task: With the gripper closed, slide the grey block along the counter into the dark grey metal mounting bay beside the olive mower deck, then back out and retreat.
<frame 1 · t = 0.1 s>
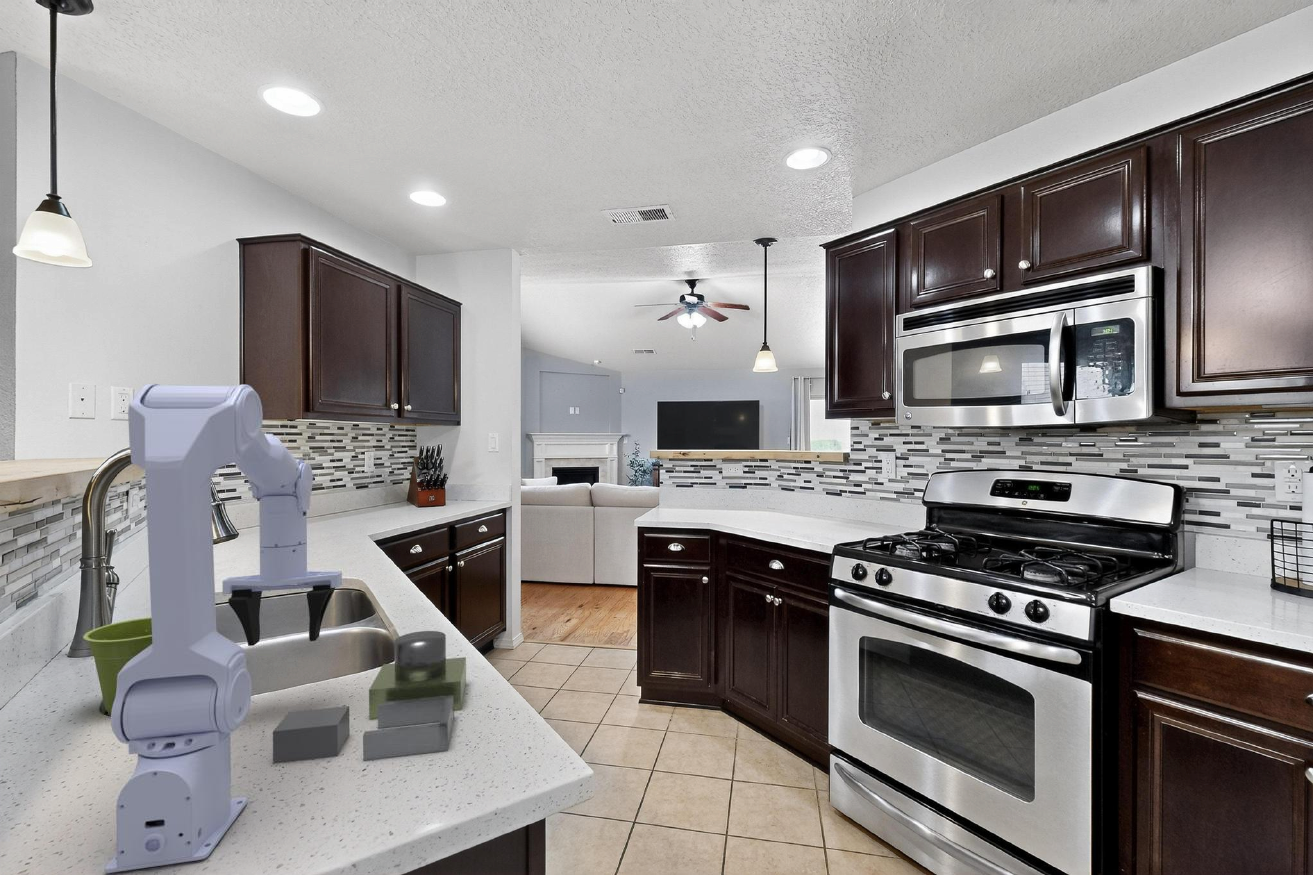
hand: (284, 641, 87), 10 cm above the worktop, fingers open, 7 cm apart
grey block: (313, 750, 77), on the worktop
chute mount: (407, 737, 79), on the worktop
plant pot: (138, 705, 91), on the worktop
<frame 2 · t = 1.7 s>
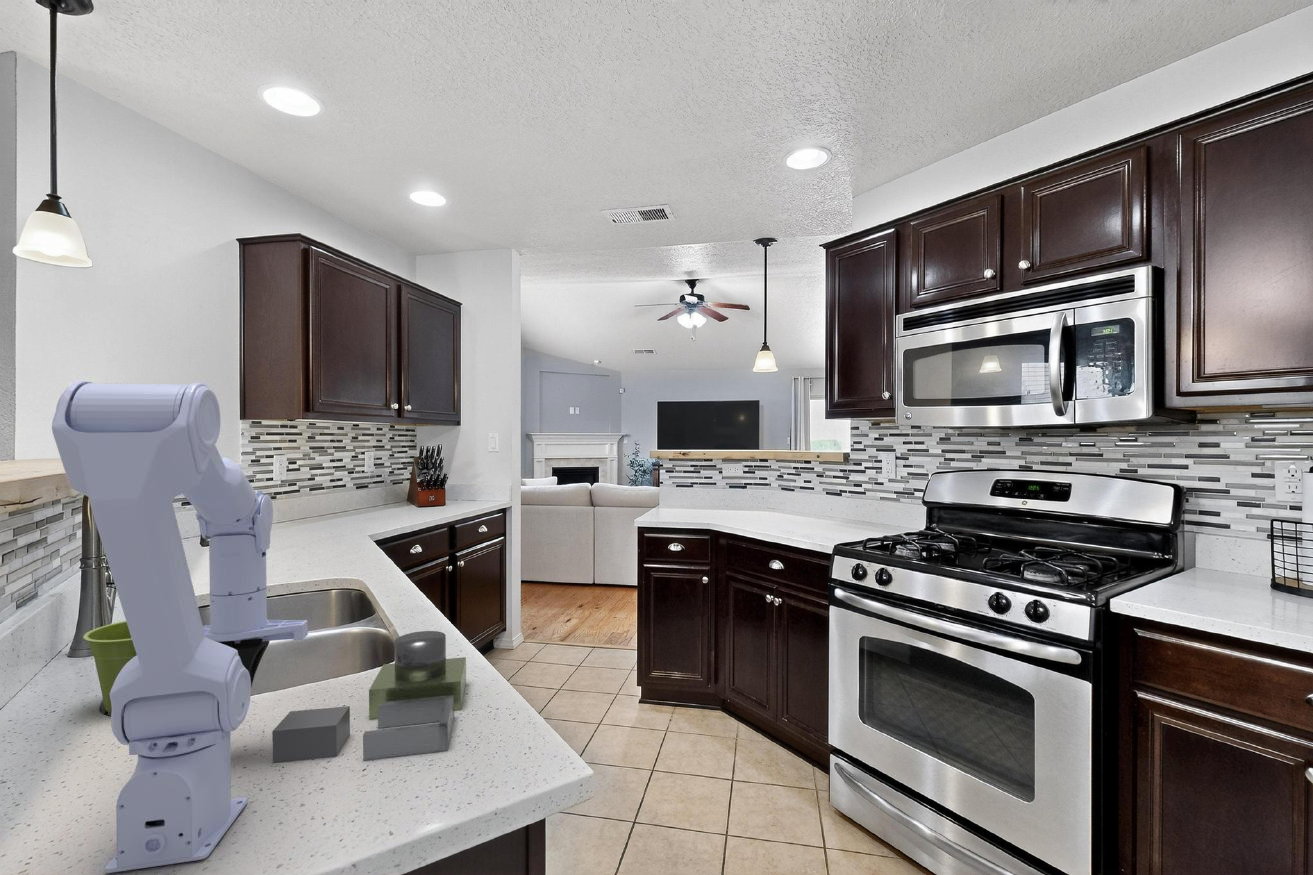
hand: (239, 702, 75), 6 cm above the worktop, fingers closed
nothing on the worktop moved.
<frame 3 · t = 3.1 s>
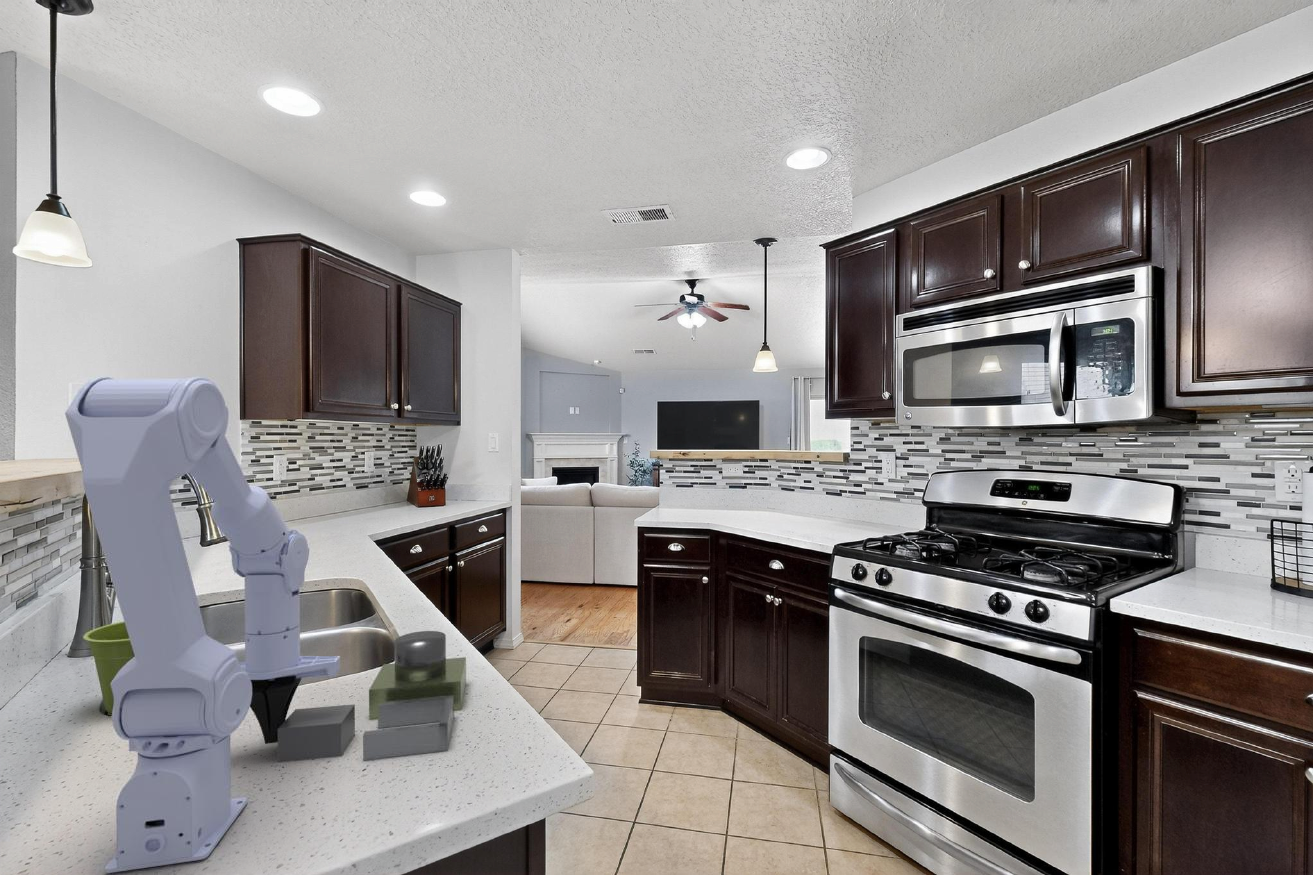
hand: (273, 739, 76), 2 cm above the worktop, fingers closed
grey block: (318, 748, 77), on the worktop, touching gripper
everything else where it was.
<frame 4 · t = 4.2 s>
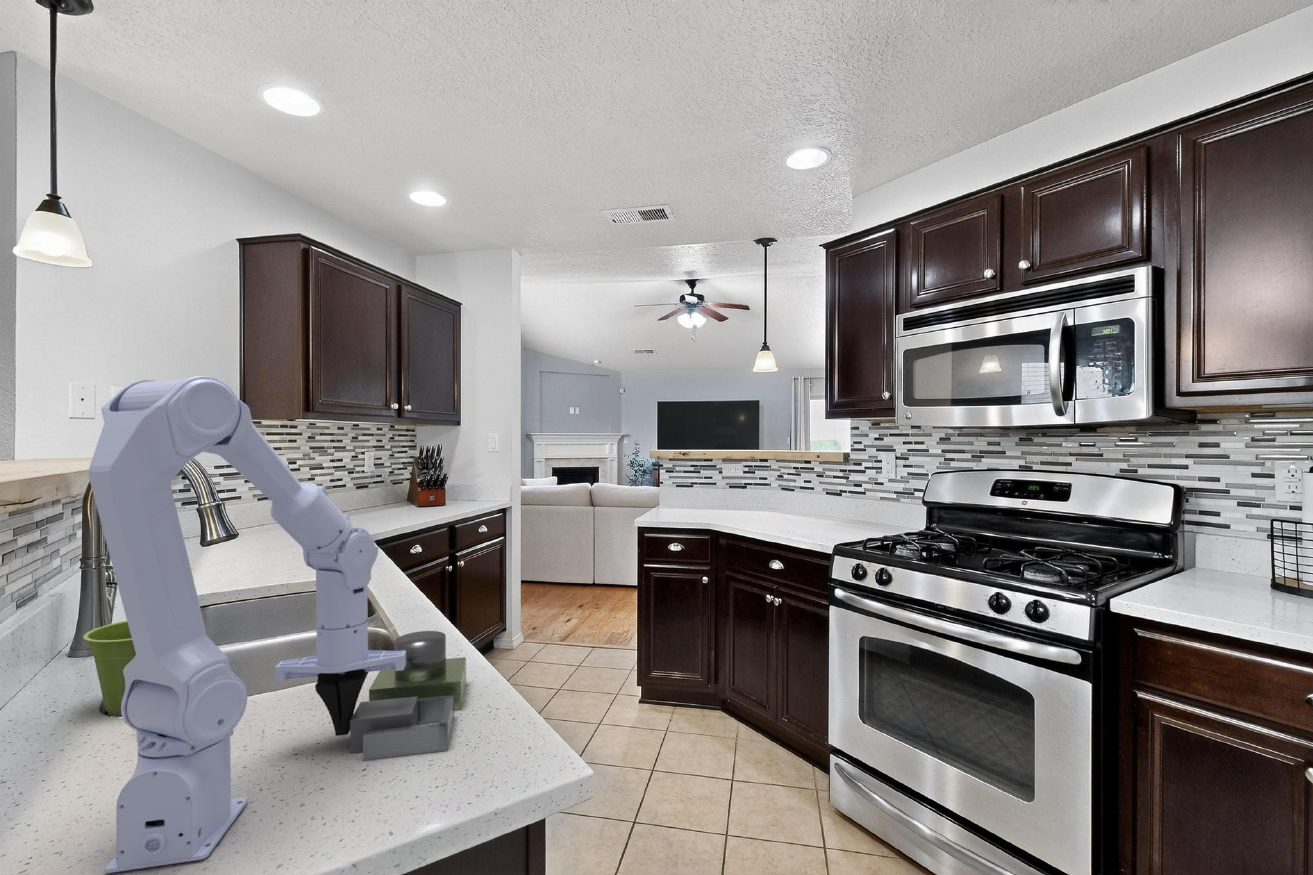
hand: (343, 731, 78), 2 cm above the worktop, fingers closed
grey block: (385, 739, 79), on the worktop, touching gripper
everything else where it was.
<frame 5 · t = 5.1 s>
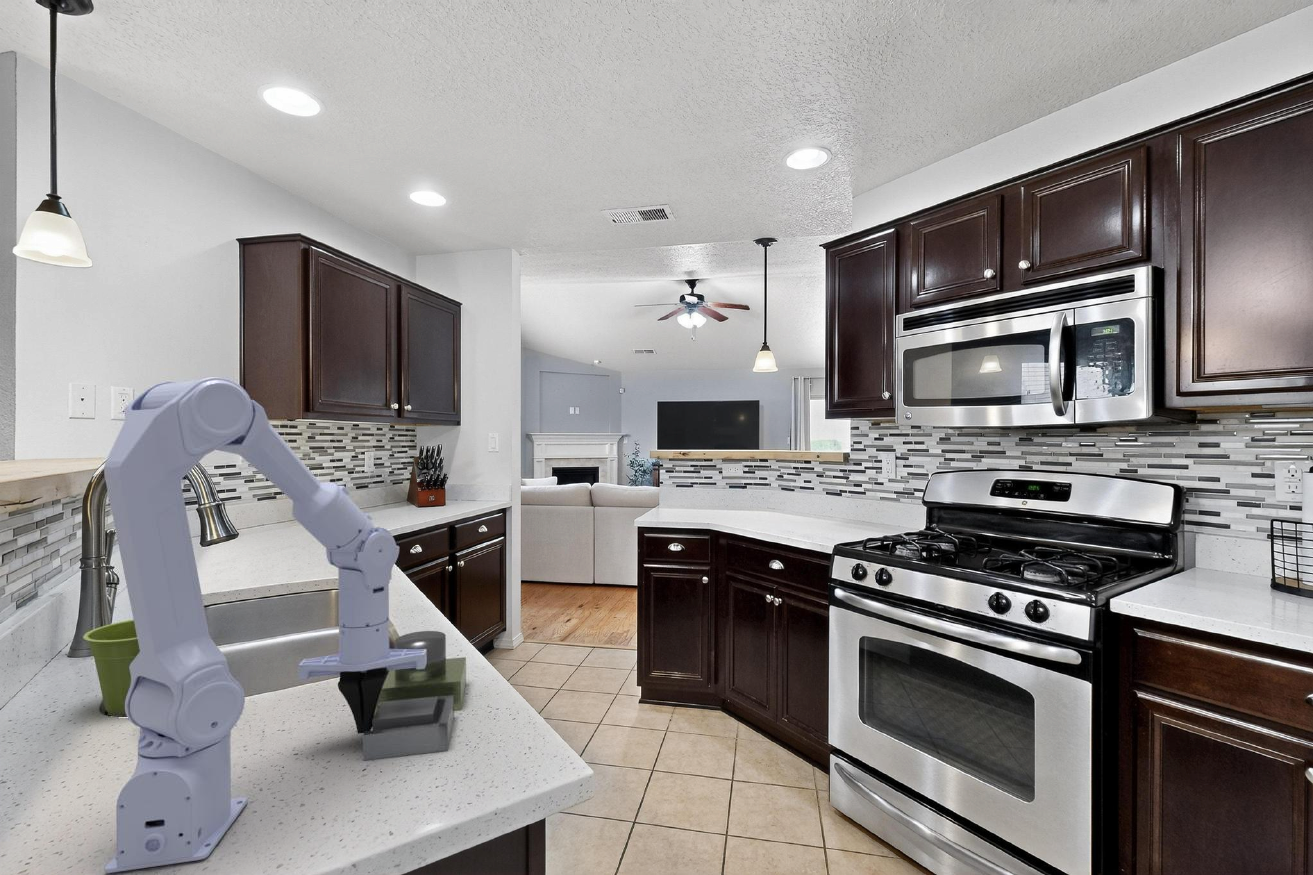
hand: (365, 729, 78), 2 cm above the worktop, fingers closed
grey block: (406, 739, 79), on the worktop
everything else where it was.
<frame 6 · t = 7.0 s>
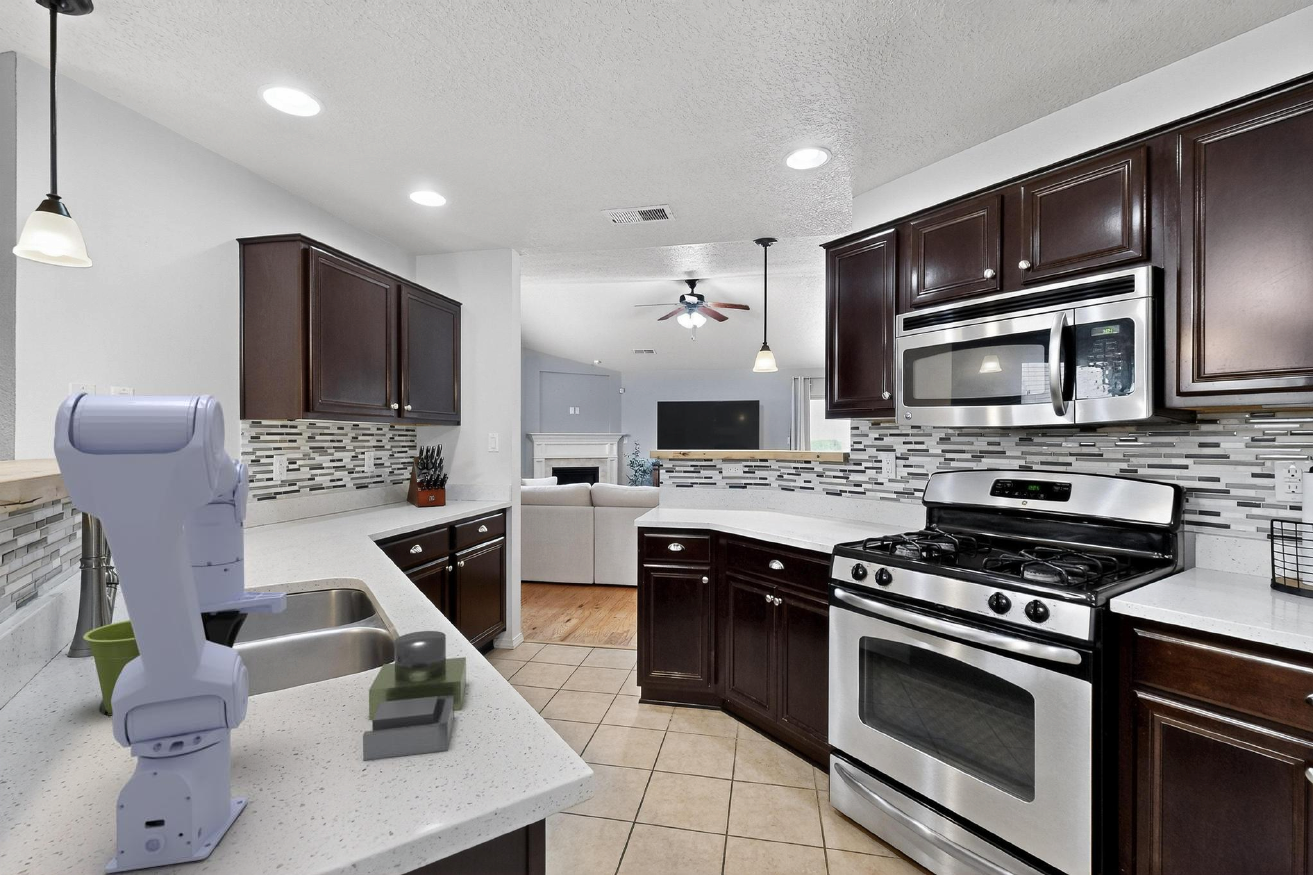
hand: (216, 675, 73), 10 cm above the worktop, fingers closed
nothing on the worktop moved.
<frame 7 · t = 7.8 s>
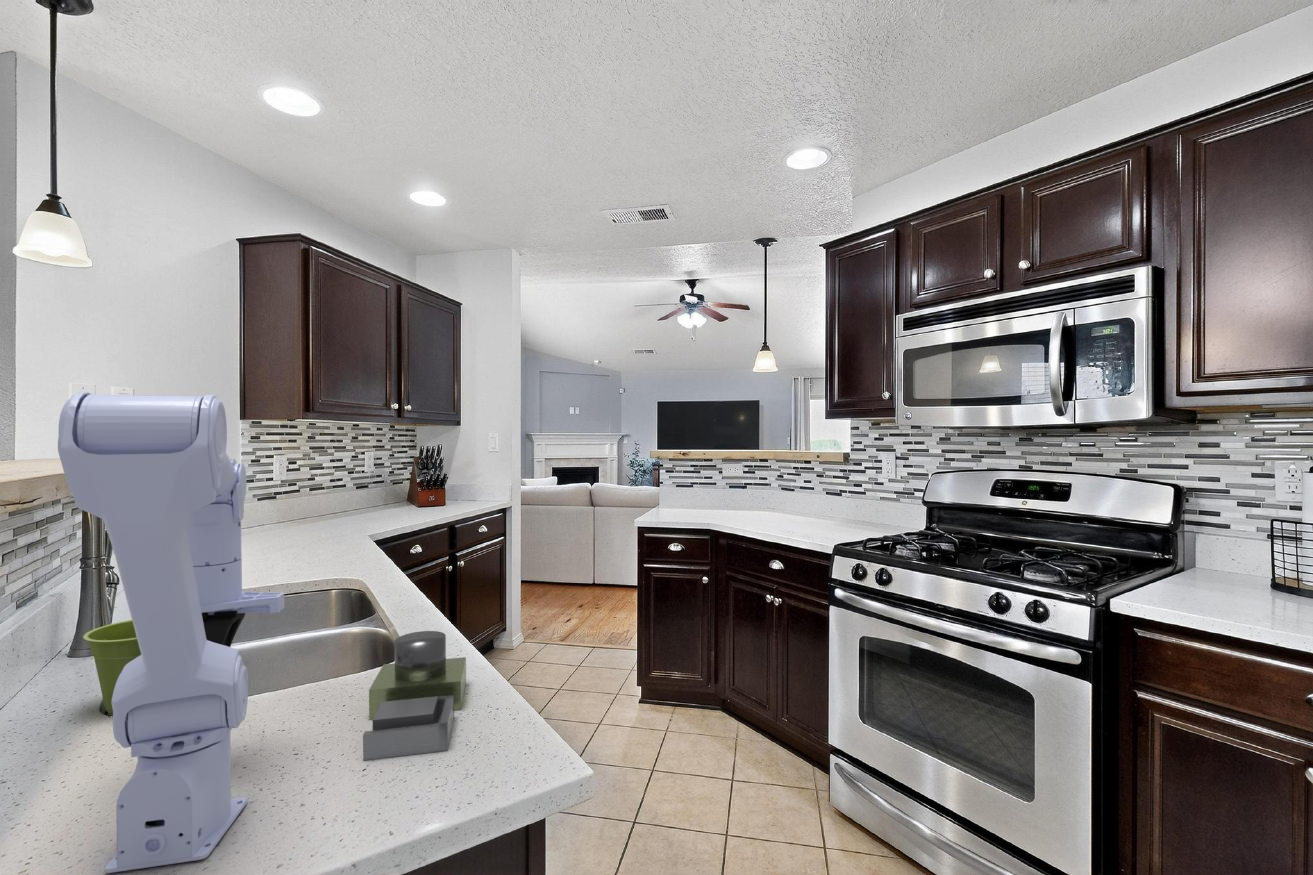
hand: (214, 675, 73), 10 cm above the worktop, fingers closed
nothing on the worktop moved.
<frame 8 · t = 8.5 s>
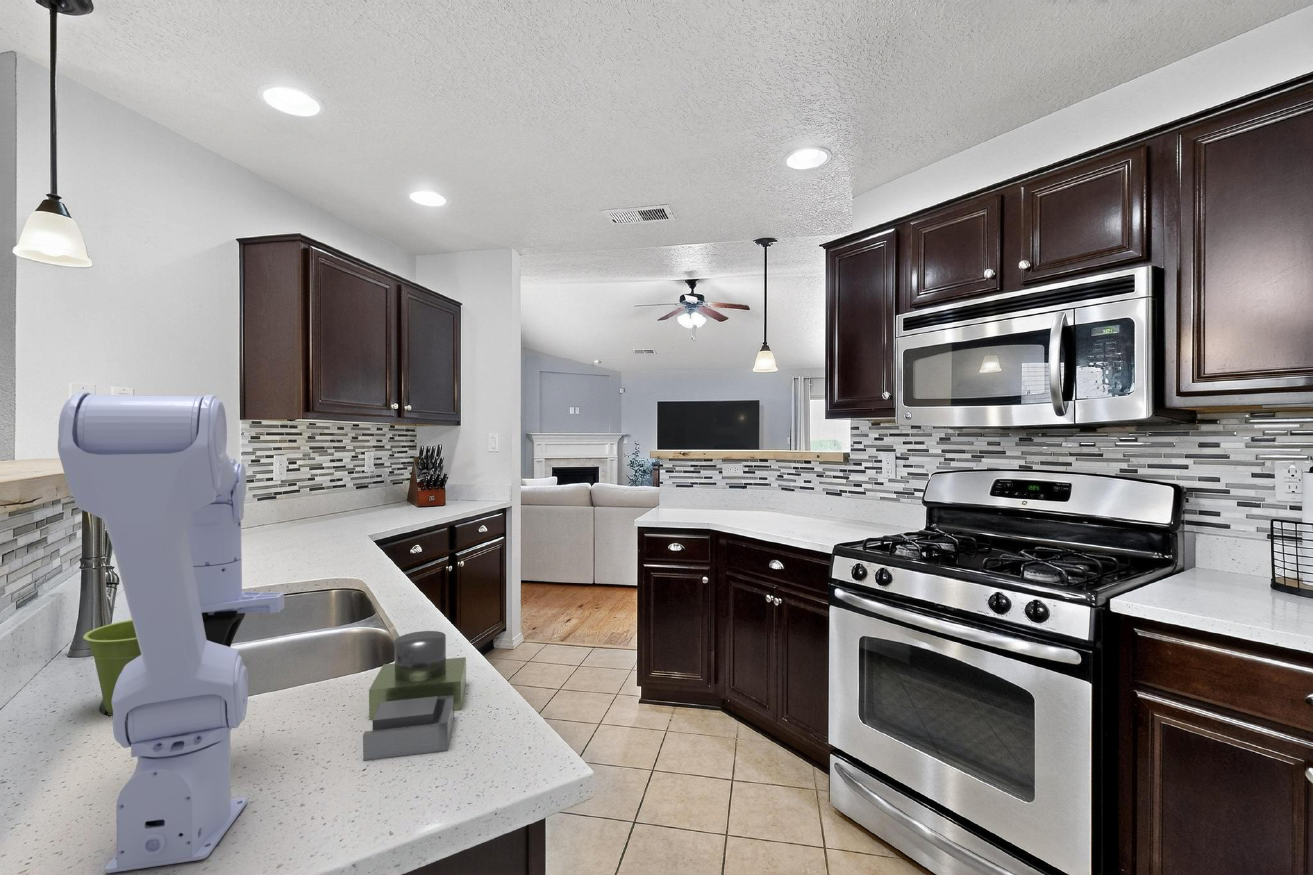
hand: (214, 675, 73), 10 cm above the worktop, fingers closed
nothing on the worktop moved.
at the end: grey block 0.2 cm off-centre on the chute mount, point 0.0 cm above the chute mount's base; grey block tilted 0° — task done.
